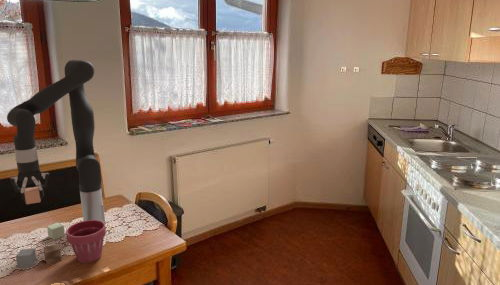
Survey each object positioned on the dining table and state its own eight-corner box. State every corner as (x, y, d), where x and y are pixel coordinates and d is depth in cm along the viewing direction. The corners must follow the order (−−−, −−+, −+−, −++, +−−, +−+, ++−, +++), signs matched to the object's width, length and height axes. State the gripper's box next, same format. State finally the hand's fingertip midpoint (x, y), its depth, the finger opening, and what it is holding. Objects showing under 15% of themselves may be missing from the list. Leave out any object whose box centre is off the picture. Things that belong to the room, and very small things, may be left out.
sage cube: (59, 232, 177) (58, 222, 176) (65, 235, 174) (63, 225, 173) (48, 236, 174) (46, 226, 172) (53, 240, 171) (52, 229, 169)
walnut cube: (58, 255, 158) (57, 243, 157) (61, 260, 154) (59, 249, 153) (45, 259, 156) (43, 247, 154) (47, 264, 152) (45, 253, 150)
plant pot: (86, 270, 147) (82, 239, 144) (61, 260, 154) (57, 231, 151) (115, 253, 159) (112, 224, 156) (92, 244, 166) (88, 216, 163)
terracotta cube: (40, 197, 163) (39, 186, 161) (40, 202, 158) (38, 190, 157) (27, 199, 161) (25, 188, 159) (26, 204, 156) (24, 192, 155)
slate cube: (36, 259, 155) (34, 248, 154) (32, 266, 150) (30, 255, 149) (22, 261, 154) (20, 249, 153) (17, 268, 149) (15, 256, 148)
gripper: (47, 154, 161) (53, 193, 165) (7, 159, 155) (14, 199, 160) (47, 159, 155) (52, 199, 159) (4, 164, 149) (11, 206, 153)
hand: (33, 199), depth 159 cm, fingers closed on terracotta cube, 5 cm apart
